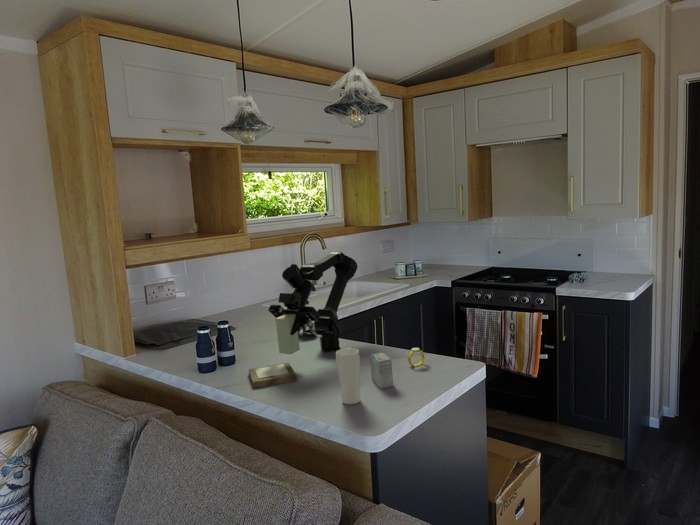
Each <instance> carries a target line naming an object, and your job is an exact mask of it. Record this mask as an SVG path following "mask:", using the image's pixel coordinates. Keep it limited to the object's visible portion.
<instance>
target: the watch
mask: <svg viewBox="0 0 700 525" xmlns="http://www.w3.org/2000/svg"><path fill="white" fill-rule="evenodd" d="M418 352H420V355H421V358H420V361H419V362H418V363H416V364H413V362H412V356H413V354H414V353H418ZM425 359H426V358H425V353H424V351H423V350H421V349H420V348H419V347H412V348H411V350H410V352H409V353H408V356H407V362H408V364H409V365H410V366H411V367H414V368H416V367H419V366H422V365H423V363H424V361H425Z"/></svg>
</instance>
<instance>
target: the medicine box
mask: <svg viewBox="0 0 700 525" xmlns="http://www.w3.org/2000/svg"><path fill="white" fill-rule="evenodd" d="M369 356H370V358H369V359H370V369H371V380H372V382H374V384H375V385H377V387H379V388H380V389H386V388H390V387H393V386H394V375H393V364H392V362H393V361H392V359H391V358H390V357H389V356H387V355H386V354H384V353H383V352H378V353H373V354H370V355H369Z"/></svg>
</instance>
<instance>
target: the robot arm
mask: <svg viewBox="0 0 700 525" xmlns="http://www.w3.org/2000/svg"><path fill="white" fill-rule="evenodd" d="M332 267H333V268H334V274H335V280H334V281H333V285H332V286H331V289H330V292H329V295H328V297H327V300H326V303H325V306H324V307H323V308H318V310H316V308H315V307H314V306H309V303H310V301H309V298H310V295H311V293H312V292H316V287H315V284H314V283H312V282H316V281H319V280H321V278H322V277H324V273H325V272H326V271H327V270H329V269H331V268H332ZM357 270H358V262H356V260H355V259H354V258H352V257H351V256H348V255H346V254H345V253H343V252H342V251H331V252H329V254H327V255H326V256H324V257H323V258H320V259H319V260H317V261H315V262H312V263H305V264H303V265H301V266H300V267H299V266H298V265H297V264H296V263H292V264H290V266H288V267H287V268H286V269H285V270H283V271H282V275H281V277H282V279H283V280H284V281H285V282H286V283H287V284H288V285H289V286H290V287H291V288H292V289H294V290H293V291H292V292H291V293H286V292H284V293H283V292H280V293H279V296H278V303H282V304H283V306H284V307H285V308H284V307H283V306H282V305H281V304H274V303H273V304H271V305H270V306H269V307H268V310H267V311H268V312H269V313H270V314H271V315H272V316H273V317H274V319H275V318H277V317H280V316H282V315H295V316H296V319H295V322H294V324H293V327H292V330H291V333H290V334H291V335H294V334H295V333H296V332H297V331H298V330H299V329H301V328H302V327H303V326H304V325H305V324H307V323H310V321H309V319H310V320H311V321H312V322H313V323H314V326H315V329H316V330H315V331H316V332H315V333H316V335H320V337H319V345H320V349H321V350H322V351H323V350H324V351H327V352H332V351H331V350H333V351H337V350H336V349H339V350H340V349H342V348H341V346H340V341H339V340H340V337H339V335H341V334H342V331H343V326H342V325H341V324H340V323H339V316H338V310H339V306H340V303H341V301H342V299H343V296H344V293H345V290H346V287H347V284H348V282H349V281H350V280H351V279H352V278H353V277H355V274H356V273H357ZM311 281H312V282H311ZM307 305H308V306H307ZM324 351H323V352H324Z"/></svg>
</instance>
